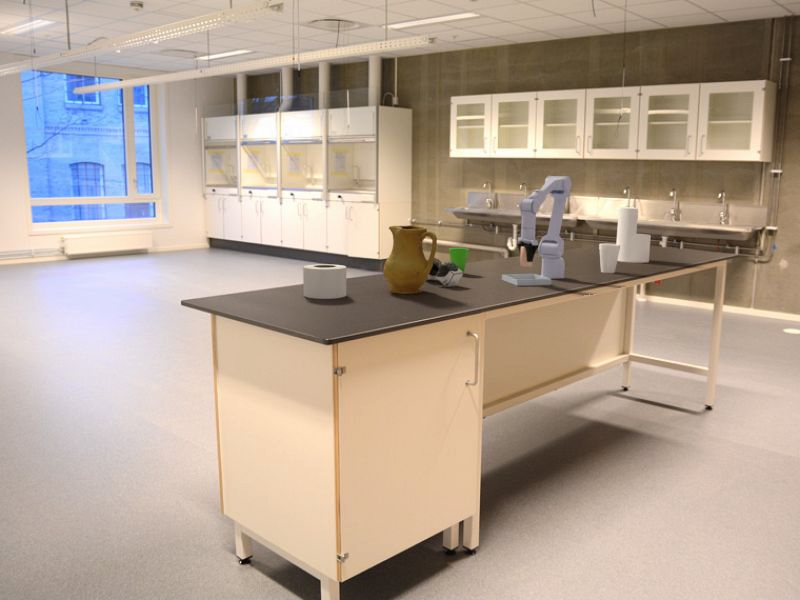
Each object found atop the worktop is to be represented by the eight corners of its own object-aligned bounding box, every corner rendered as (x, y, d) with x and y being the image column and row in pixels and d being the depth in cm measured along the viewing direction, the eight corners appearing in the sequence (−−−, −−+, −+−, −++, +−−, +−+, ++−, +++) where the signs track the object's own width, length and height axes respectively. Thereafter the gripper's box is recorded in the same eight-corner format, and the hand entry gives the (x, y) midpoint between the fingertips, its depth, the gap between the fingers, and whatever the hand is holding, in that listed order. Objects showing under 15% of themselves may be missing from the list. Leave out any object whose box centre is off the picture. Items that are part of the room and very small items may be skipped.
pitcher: (405, 285, 290) (407, 222, 285) (440, 293, 278) (443, 227, 272) (373, 290, 279) (375, 225, 273) (408, 300, 266) (410, 231, 260)
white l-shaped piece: (617, 261, 387) (621, 208, 382) (613, 258, 404) (616, 206, 399) (651, 263, 384) (655, 209, 379) (646, 259, 401) (650, 207, 396)
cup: (468, 272, 334) (469, 248, 332) (468, 275, 325) (468, 250, 323) (448, 271, 335) (449, 247, 333) (447, 274, 326) (448, 249, 324)
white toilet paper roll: (299, 293, 270) (298, 263, 268) (339, 291, 276) (339, 262, 274) (309, 300, 256) (309, 269, 254) (351, 298, 261) (351, 268, 260)
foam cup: (620, 272, 347) (622, 244, 344) (615, 274, 339) (617, 245, 337) (601, 270, 352) (602, 243, 349) (594, 272, 344) (596, 244, 342)
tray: (534, 279, 316) (534, 274, 316) (551, 284, 302) (551, 279, 301) (501, 280, 312) (502, 274, 312) (516, 285, 298) (517, 279, 297)
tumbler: (529, 265, 309) (530, 245, 308) (534, 266, 304) (535, 247, 303) (517, 265, 308) (518, 246, 306) (523, 266, 303) (524, 247, 301)
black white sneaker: (414, 280, 309) (415, 256, 307) (435, 279, 313) (435, 255, 311) (445, 289, 286) (446, 263, 285) (466, 287, 291) (467, 262, 289)
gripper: (512, 226, 309) (510, 258, 311) (527, 229, 295) (525, 263, 298) (527, 226, 311) (525, 258, 313) (543, 229, 297) (541, 263, 300)
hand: (526, 260), depth 306 cm, fingers closed on tumbler, 5 cm apart
